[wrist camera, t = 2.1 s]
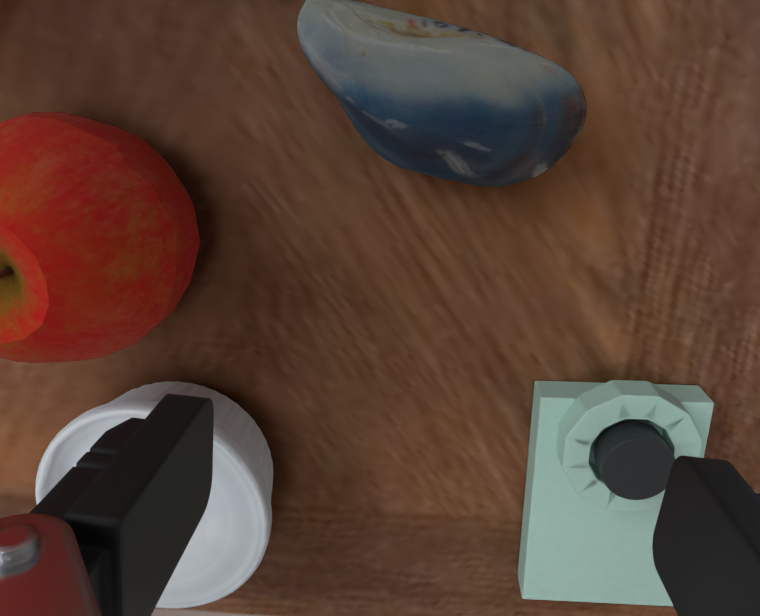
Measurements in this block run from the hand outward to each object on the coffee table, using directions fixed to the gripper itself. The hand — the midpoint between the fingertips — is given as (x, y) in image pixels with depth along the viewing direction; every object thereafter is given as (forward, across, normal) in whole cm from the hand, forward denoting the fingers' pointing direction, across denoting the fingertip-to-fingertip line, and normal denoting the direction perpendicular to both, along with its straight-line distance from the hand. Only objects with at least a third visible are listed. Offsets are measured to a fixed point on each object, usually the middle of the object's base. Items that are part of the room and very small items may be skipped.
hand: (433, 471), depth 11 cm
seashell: (+20, 0, -7) cm, 22 cm away
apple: (+21, +15, +1) cm, 26 cm away
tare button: (+18, -10, +9) cm, 22 cm away
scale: (+21, -11, +12) cm, 26 cm away
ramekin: (+21, +11, +14) cm, 27 cm away
